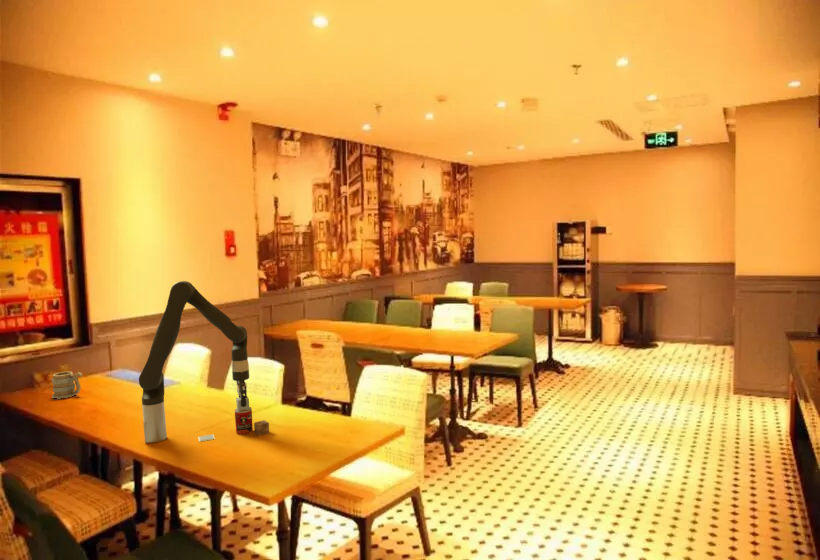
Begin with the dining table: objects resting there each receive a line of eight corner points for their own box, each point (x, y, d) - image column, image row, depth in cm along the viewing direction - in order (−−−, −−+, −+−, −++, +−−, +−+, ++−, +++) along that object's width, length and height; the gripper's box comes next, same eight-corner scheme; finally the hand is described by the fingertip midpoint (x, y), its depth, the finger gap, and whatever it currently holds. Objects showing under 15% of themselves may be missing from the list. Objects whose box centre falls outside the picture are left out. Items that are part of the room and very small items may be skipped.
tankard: (47, 398, 349) (45, 374, 348) (65, 393, 361) (63, 369, 360) (73, 400, 343) (71, 375, 342) (91, 394, 356) (89, 370, 354)
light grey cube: (238, 411, 270) (237, 400, 270) (236, 408, 275) (236, 398, 275) (249, 409, 273) (248, 398, 272) (247, 406, 277) (247, 396, 277)
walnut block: (259, 435, 269) (258, 425, 268) (254, 433, 273) (253, 422, 272) (269, 433, 272) (268, 422, 271) (264, 430, 276) (263, 420, 275)
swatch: (199, 441, 263) (199, 441, 263) (197, 437, 270) (197, 436, 270) (215, 439, 266) (214, 438, 266) (213, 434, 272) (213, 433, 272)
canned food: (235, 435, 270) (234, 412, 269) (236, 430, 278) (234, 407, 277) (253, 433, 272) (251, 410, 271) (252, 428, 280) (251, 405, 279)
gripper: (230, 367, 277) (232, 402, 279) (234, 373, 264) (236, 410, 266) (246, 365, 280) (248, 399, 282) (251, 371, 267) (253, 407, 269)
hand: (242, 404), depth 274 cm, fingers open, 5 cm apart
